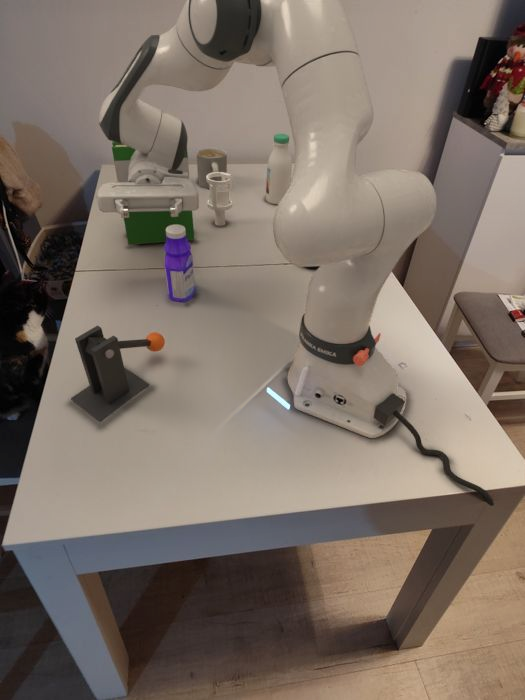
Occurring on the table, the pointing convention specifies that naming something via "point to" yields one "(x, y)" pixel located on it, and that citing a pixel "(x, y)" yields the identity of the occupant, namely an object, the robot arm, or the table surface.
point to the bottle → (178, 264)
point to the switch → (132, 343)
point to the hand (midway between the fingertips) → (149, 213)
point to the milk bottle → (278, 170)
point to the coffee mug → (210, 164)
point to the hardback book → (151, 222)
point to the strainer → (219, 195)
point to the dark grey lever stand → (105, 377)
